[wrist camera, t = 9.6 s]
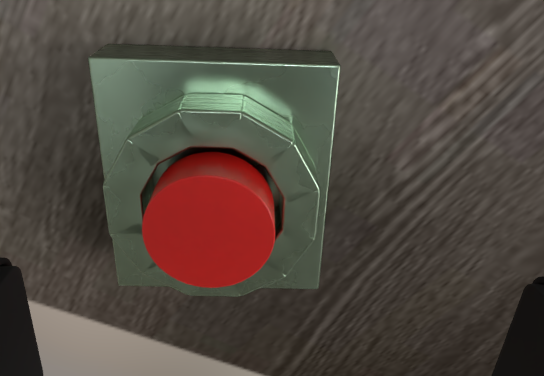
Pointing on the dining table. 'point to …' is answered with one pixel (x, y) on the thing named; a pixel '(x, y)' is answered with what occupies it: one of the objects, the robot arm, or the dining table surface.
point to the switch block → (217, 144)
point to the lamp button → (210, 220)
